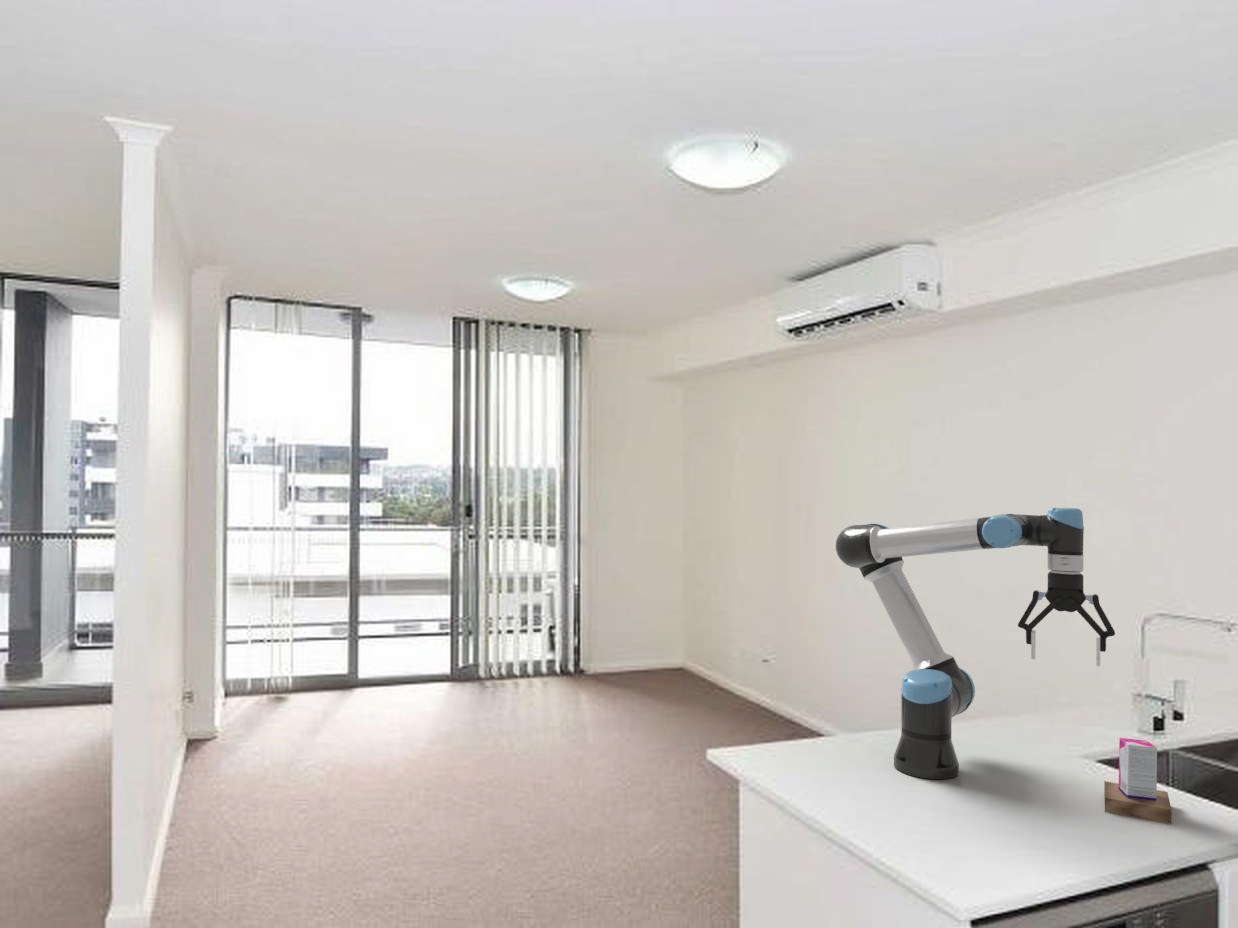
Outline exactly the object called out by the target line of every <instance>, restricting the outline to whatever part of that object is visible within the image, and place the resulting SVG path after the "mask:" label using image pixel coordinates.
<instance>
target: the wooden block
mask: <svg viewBox="0 0 1238 928" xmlns="http://www.w3.org/2000/svg"><path fill="white" fill-rule="evenodd" d="M1103 792H1104V795H1103V796H1104V812H1105V813H1109V814H1115V815H1120V816H1125V817H1132V818H1136V819H1137V818H1138V819H1142V820H1147V821H1152V822H1153V821H1154V822H1158V823H1164V824H1168V825H1172V823H1173V822H1172V820H1173V819H1172V812H1173V811H1172V810H1173V809H1172V806H1171V802H1170V797H1169V793H1168V791H1165V790H1159V789H1157V791H1156V800H1155V801H1154V800H1144V799H1133V798H1127V797H1126V796H1125V795H1124V794H1123V793H1122V792H1121V791H1120V790H1119V782H1118V783H1117V782H1111V781H1107V780H1106V781H1105V780H1104V790H1103Z"/></svg>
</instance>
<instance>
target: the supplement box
mask: <svg viewBox="0 0 1238 928" xmlns="http://www.w3.org/2000/svg"><path fill="white" fill-rule="evenodd" d="M1118 744H1119V745H1118V746H1119V748H1118V749H1119V752H1118V754H1119V755H1118V758H1119V759H1118V784H1119V790H1120V791H1121V792H1122V793H1123V794H1124V795H1125V796H1126V797H1127V798H1133V799H1144V800H1154V801H1155V800H1156V791H1157V790H1158V789H1157V787H1158V786H1157V784H1158V783H1157V782H1158V781H1157V779H1158V776H1157V775H1158V769H1157V767H1158V763H1157V762H1158V748H1157V747H1156V746H1155V745H1154V744H1152V743H1151V742H1150V741H1149V740H1147V739H1146V740H1145V739H1136V738H1125V737H1119V743H1118Z"/></svg>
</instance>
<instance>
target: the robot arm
mask: <svg viewBox="0 0 1238 928" xmlns="http://www.w3.org/2000/svg"><path fill="white" fill-rule="evenodd" d="M1083 514H1084V513H1083V511H1082V510H1081V509H1080V508H1076V507H1075V508H1074V507H1049V508H1048V509H1047V513H1046V514H1044V515H1042V514H1041V515H1037V514H1036V515H1032V514H1014V513H1003V514H997V515H993V516H986V517H978V518H977V517H976V518H969V519H960V520H950V521H942V522H932V523H924V524H915V525H907V526H906V525H905V526H898V527H891V528H890V527H887V526H886V525H882V524H879V523H868V524H853V525H850V526H847V527H845V528H844V529H843V530H841V531H840V533H839V534H838V536H837V538H836V541H835V551H836V554H837V557H838V558H839V559H840V561H841V562H843V564H845V565H847V566H848V567H850V568H854V569H859V571H860V573H861V575H862V578H864V580H866V581H868V582H870V583H872V585H873V587H874V589H875V591H876V593H877V594H878V596H879V599H880V600H881V603H882V605H883V606H884V608H885V611H886V613H887V614H888V616H889V619H890V620H891V623H892V624H893V626H894V629H895V630H896V632H897V634H898V637H899V638H900V640H901V643H902V644H903V647H904V649H905V651H906V652H907V654H908V657H909V658H910V660H911V662H912V669H911V670H910V671H907V672H906V673H905V674H904V675H903V677H902V679H901V687H900V692H901V693H900V694H901V698H900V699H901V702H900V703H901V711H900V712H901V713H900V714H901V719H900V720H901V721H900V722H901V731H900V733H901V735H900V738H899V741H898V742H897V743H898V744H897V746H896V749H895V752H894V755H893V766H894V768H895V769H896V770H897V771H899V772H901V773H904V774H907V775H909V776H912V777H916V778H922V779H929V780H948V779H953V778H957V777H958V776H959V774H960V763H959V761H958V757H957V753H956V751H955V748H954V745H953V740H952V718H954V717H955V716H957V715H960V714H962V713H964V712H966V710H967V709H968V708H969V707H970V706H971V705H972V704H973V702H974V699H975V696H976V695H975V694H976V689H975V688H976V687H975V683H974V681H973V679H972V677H971V675H969V673H968V672H967V671H966V670H964V669H963V668H960V667H959V665H958V664H957V660H955V658H954V655H951V654H950V653H947V652H945V651H944V650H943V647H942V645H941V643H940V641H939V640H938V637H937V635H936V634H935V632H934V629H933V628H932V626H931V624H930V622H929V620H928V618H927V616H926V614H925V612H924V610H923V609H922V607H921V605H920V602H919V601H918V598H917V597H916V595H915V593H914V591H913V589H912V587H911V585H910V583H909V581H908V580H907V578H906V576H905V573H904V572H903V569H902V568H903V567H904V563H905V561H904V559H903V557H904V558H905V557H913V556H914V557H915V556H922V555H923V556H925V555H936V554H947V553H955V552H956V553H957V552H965V551H966V552H967V551H978V550H990V549H991V550H992V549H1007V548H1011V547H1017V546H1036V547H1047V570H1048V571H1049V572H1048V573H1047V590H1046V592H1045V591H1039V590H1038V589H1035V590H1033V593H1032V599H1031V601H1030V602H1029V604H1028V606H1027V607H1026V610H1025V611H1024V613H1023V615H1022V616H1021V619H1020V620H1019V622H1018V623H1017V627H1018V628H1021V629H1023V630H1025V642H1026V644H1027V645H1030V651H1031V652H1030V657H1031V658H1030V659H1031V660H1035V659H1036V637H1037V636H1036V635H1037V634H1036V631H1037V630H1034V628H1035V627H1036V626H1038V625H1039V624H1040V622H1041V621H1042V620H1044V618H1046V616H1048V615H1049V614H1050V613H1051V612H1052V611H1053V610H1055V611H1057V612H1067V613H1074V612H1076V611H1077V612H1078V613H1079V615H1080V616H1081V617H1082V618H1083V619H1084V620H1085V622H1087V623H1088V624H1089V626H1090V627H1091V628H1092V629H1093V630H1094V631H1095V633H1096V634H1098V635H1097V636H1095V637H1096V646H1095V647H1096V655H1095V656H1096V662H1095V663H1096V667H1101V652H1104V653H1105V652H1106V651H1107V638H1109V637H1114V636H1115V635H1116V632H1115V629H1114V628H1113V626H1112V624H1111V622H1110V620H1109V618H1108V617H1107V615H1106V613H1105V611H1104V609H1103V608H1102V606H1101V604H1100V599H1099V595H1098V594H1097V593H1093V594H1085V593H1084V575H1083V574H1082V572H1084V531H1085V530H1084V529H1085V526H1084V518H1083V517H1084V516H1083ZM1044 597H1045V598H1046V600H1047V602H1048V603H1049V604H1048V605H1047V606H1046V607H1045V608H1044V609H1043V610H1042V611H1041V612H1040V613H1038V615H1037V616H1036V617H1034V619H1032V621H1031V622H1030V623H1026V622H1027V620H1028V619H1029V617H1030V615H1031V614H1032V612H1033V611H1034V608H1035V607H1036V605H1038V604H1037V603H1038V602H1039V601H1041V600H1042V599H1043V598H1044ZM1085 601H1088V602H1089V604H1090V605H1093V607H1094V609H1095V611H1096V613H1097V615H1098V616H1099V618H1100V621H1101V622H1102V624H1103V626H1104V627H1105V630H1104V629H1103V628H1102V627H1101V626H1100V625H1099V624H1098V622H1096V621H1095V619H1094V618H1093V617H1092V616H1091V615H1090V614H1089V612H1088V611H1086V609H1085V608H1084V607H1083V604H1084V602H1085Z"/></svg>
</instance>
